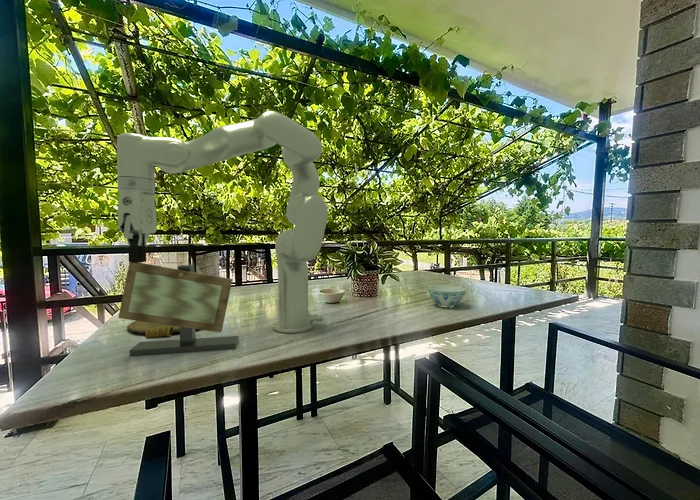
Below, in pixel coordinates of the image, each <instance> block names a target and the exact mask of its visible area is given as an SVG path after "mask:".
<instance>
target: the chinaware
mask: <svg viewBox="0 0 700 500" xmlns="http://www.w3.org/2000/svg"><path fill="white" fill-rule="evenodd" d="M427 291H428V293H429V297H430V298H431V299H432V301H433V302H435V304H437V306H438V305H440V306H446V307H451V306H455V307H456V305H457V304H459V303H461V302H462V301H463V299H464V297H465V296H466V295H465V294H466V291H467V289H466V287H462V286H458V285H451V284H435V285H429V286H427Z"/></svg>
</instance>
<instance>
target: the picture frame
mask: <svg viewBox="0 0 700 500" xmlns="http://www.w3.org/2000/svg"><path fill="white" fill-rule="evenodd" d="M232 283H233V278H230V277H229V278H228V277H223V276H216V275H212V274H206V273H200V272H196V271H194V272H190V271H184V270H178V268H172V267H166V266H161V265H155V264H149V263H145V262H129V261H128V268H127V273H126V278H125V282H124V288H123V291H122V292H123V294H122V298H121V303H120V307H119V313H118V317H117V318H118V319H122V320H128V321H142V322H149V323H156V324H164V325H171V326H178V327H185V328H192V329H195V330H200V331H206V332H207V331H208V332H214V333H222V332H223V327H224V324H225V323H224V322H225V318H226V312H227V306H228V303H229V299H230V294H231V287H232Z"/></svg>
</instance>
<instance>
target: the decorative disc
mask: <svg viewBox="0 0 700 500" xmlns="http://www.w3.org/2000/svg"><path fill="white" fill-rule="evenodd" d="M127 329H128V330H129V331H130V332H133V333H139V334H145V338H146V339H153V338H154V339H155V338H160V337H164V338H165V337H172V335H173V334H174V333H177V332H178V333H180V327H178V326H171V325H164V324H156V323H149V322H142V321H135V320H133V321H131V323H129V324H128V325H127Z"/></svg>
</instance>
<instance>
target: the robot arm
mask: <svg viewBox="0 0 700 500" xmlns="http://www.w3.org/2000/svg"><path fill="white" fill-rule="evenodd" d="M275 145H279V146H280V147H282V149H281V150H282V151H281V156H282V158H283V161H284V163H285V165H286V166H287V167H288V168H289V170H290V172H291V174H292V185H291V189H290V194H289V198H288V202H287V206H286V211H285V212H286V219H287V220H288V222H289V223H290V224H291V225H293V226H294V228H290V229H285V230H283V231H282V232H281V233H280V234H278V236H277V238H276V240H275V247H274V249H275V255H276V257H275V258H276V263H277V309H278V311H277V313H278V314H277V316H278V317H277V318H278V321H276V322H274V323H273V327H272V328H273V329H274V330H275V331H276V332H279V333H283V334H284V333H285V334H287V333H288V334H296V333H301V332H302V333H303V332H306V331H309V330H311V329H312V328H314V322H323V320H324V319H323V314H318V313H317V314H312V313H310V311H309V268H308V263H307V262H309V261H312V260H313V259H315V258H316V257H317V256H318V254H319V252H320V250H321V248H322V245H323V239H324V236H325V232H326V231H325V230H326V226H327V221H328V215H329V213H328V212H329V211H328V210H329V209H328V206H327V203H326V201H325V199H324V198H323V197H321V196H320V195H318V194H319V188H320V175H319V173H318V170H317V168H316V166H315V163H313V162H315V161H317V160H318V159H319V158H320V157H321V155H322V152H323V151H322V150H323V146H322V142H321V140H320V138H319V137H318V136H317V134H315V133H314V132H312V131H311V130H309V129H308V128H306V127H305V126H303V125H301V124H300V123H298V122H296V121H295V120H293V119H292V118H290V117H288V116H286V115H284V114H282V113H281V112H278V111H275V110H267V111H264V112H263V113H261V114H260V115H259V116H258V117H257V118H254V119H250V120H245V121H241V122H240V121H239V122H235V123H231V124H225V125H221V126H218V127H216V128H214V129H212V130H210V131H209V132H207V133H206V134H204V135H202V136H199V137H198V138H195V139H192V140H188V141H185V142H184V141H183V140H181V139H179V138H175V137H169V136H149V135H148V136H147V135H144V134H140V133H134V132H121V133H120V134H118V136H117V138H116V155H117V156H116V157H117V158H116V159H117V161H116V165H117V168H116V169H117V170H116V171H117V192H118V193H119V195H118V196H119V197H118V203H117V205H118V206H117V207H118V208H117V226H118V231H119V232H120V233H123V238H124V239H126V241H127V242H126V243H127V246H128V263H129V262H138V263H146V261H147V242H148V238H149V237H150V234H156V232H157V213H156V212H157V211H156V203H155V196H154V195H156V185H155V184H156V182H155V181H156V178H155V177H156V176H155V174H156V173H155V171H156V170H155V167H156V166H157V168H158V169H159V170H161V171H162V172H164V173H166V174H180V173H184V172H188V171H192V170H196V169H199V168H202V167H206V166H208V165H212V164H214V163H215V164H216V163H219V162H223V161H227V160H229V159H232V158H236V157H240V156H243V155H247V154H250V153H251V154H252V153H254V152H259V151H263V150H266V149H269V148H272V147H274V146H275Z"/></svg>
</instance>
